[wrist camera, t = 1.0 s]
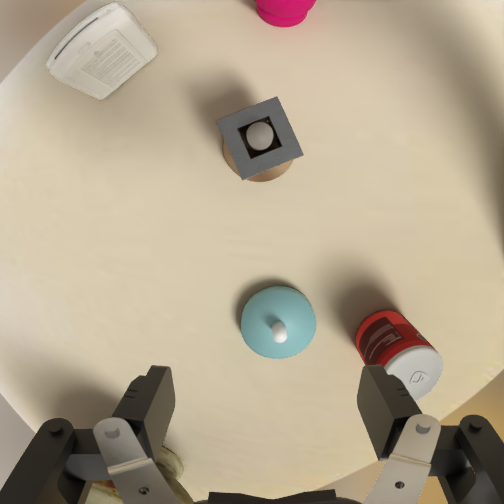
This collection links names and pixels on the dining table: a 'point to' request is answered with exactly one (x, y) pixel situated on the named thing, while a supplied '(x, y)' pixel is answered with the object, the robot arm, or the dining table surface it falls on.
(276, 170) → the stand
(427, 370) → the canned food
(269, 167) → the square metal frame
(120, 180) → the dining table surface
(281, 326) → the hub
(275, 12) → the pepper mill
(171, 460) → the amphora
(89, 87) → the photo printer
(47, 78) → the dining table surface
